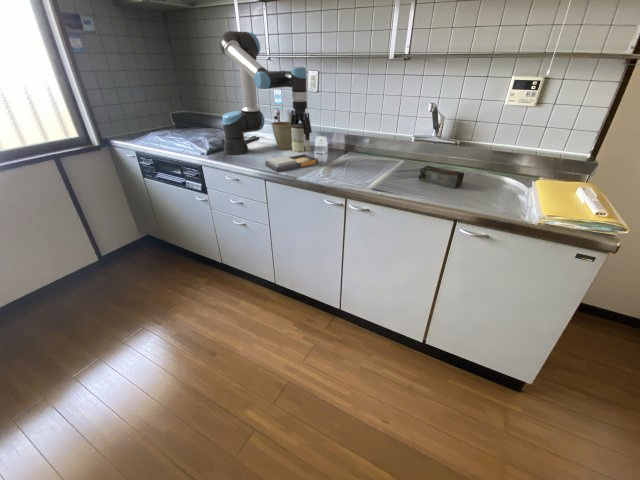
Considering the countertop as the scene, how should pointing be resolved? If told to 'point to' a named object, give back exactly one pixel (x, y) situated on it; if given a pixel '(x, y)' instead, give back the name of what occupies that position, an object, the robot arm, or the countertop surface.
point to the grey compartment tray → (290, 162)
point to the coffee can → (299, 139)
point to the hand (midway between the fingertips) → (301, 143)
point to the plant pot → (282, 134)
